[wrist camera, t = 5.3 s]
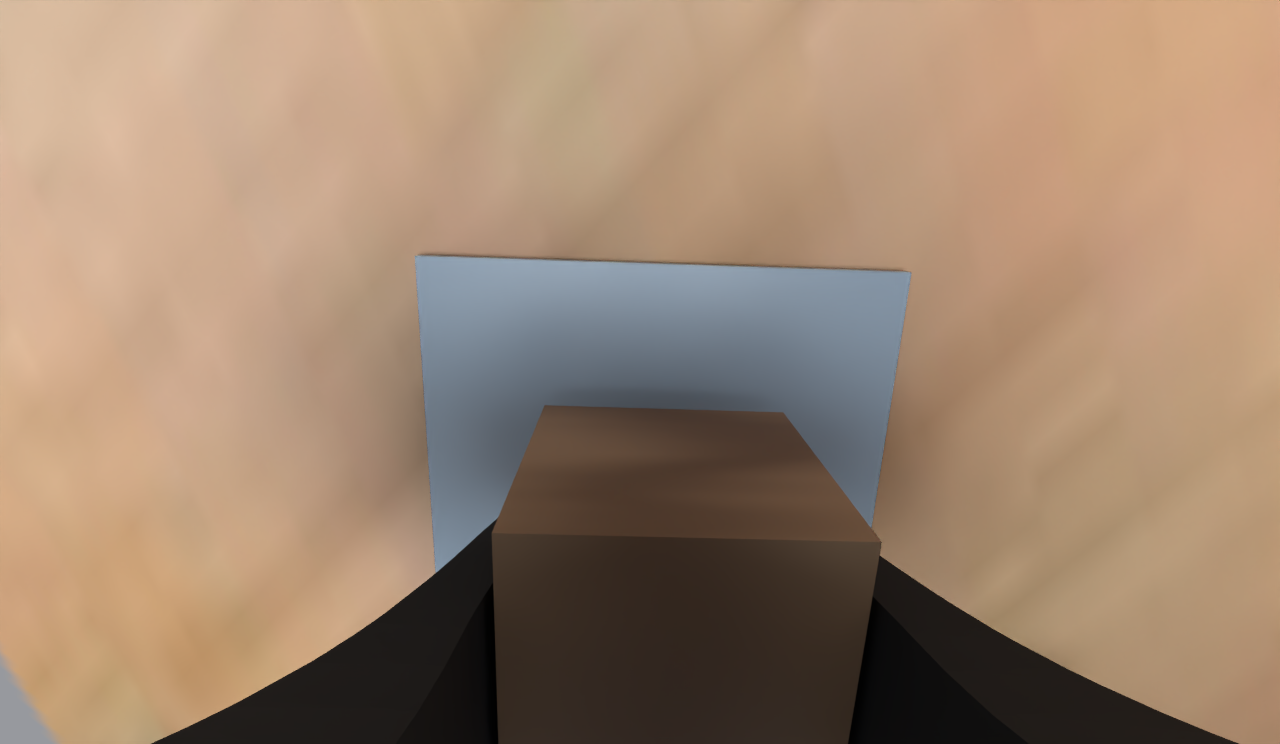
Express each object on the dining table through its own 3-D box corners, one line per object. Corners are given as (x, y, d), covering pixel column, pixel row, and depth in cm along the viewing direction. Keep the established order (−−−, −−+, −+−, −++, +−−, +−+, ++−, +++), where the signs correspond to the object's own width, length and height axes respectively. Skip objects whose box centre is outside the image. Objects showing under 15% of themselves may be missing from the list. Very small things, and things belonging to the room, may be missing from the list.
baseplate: (904, 270, 12) (911, 272, 12) (843, 668, 15) (847, 677, 15) (419, 254, 12) (414, 255, 12) (446, 663, 15) (442, 672, 14)
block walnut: (783, 412, 11) (881, 541, 7) (761, 614, 12) (833, 833, 8) (544, 405, 11) (491, 532, 7) (545, 610, 12) (501, 831, 8)
